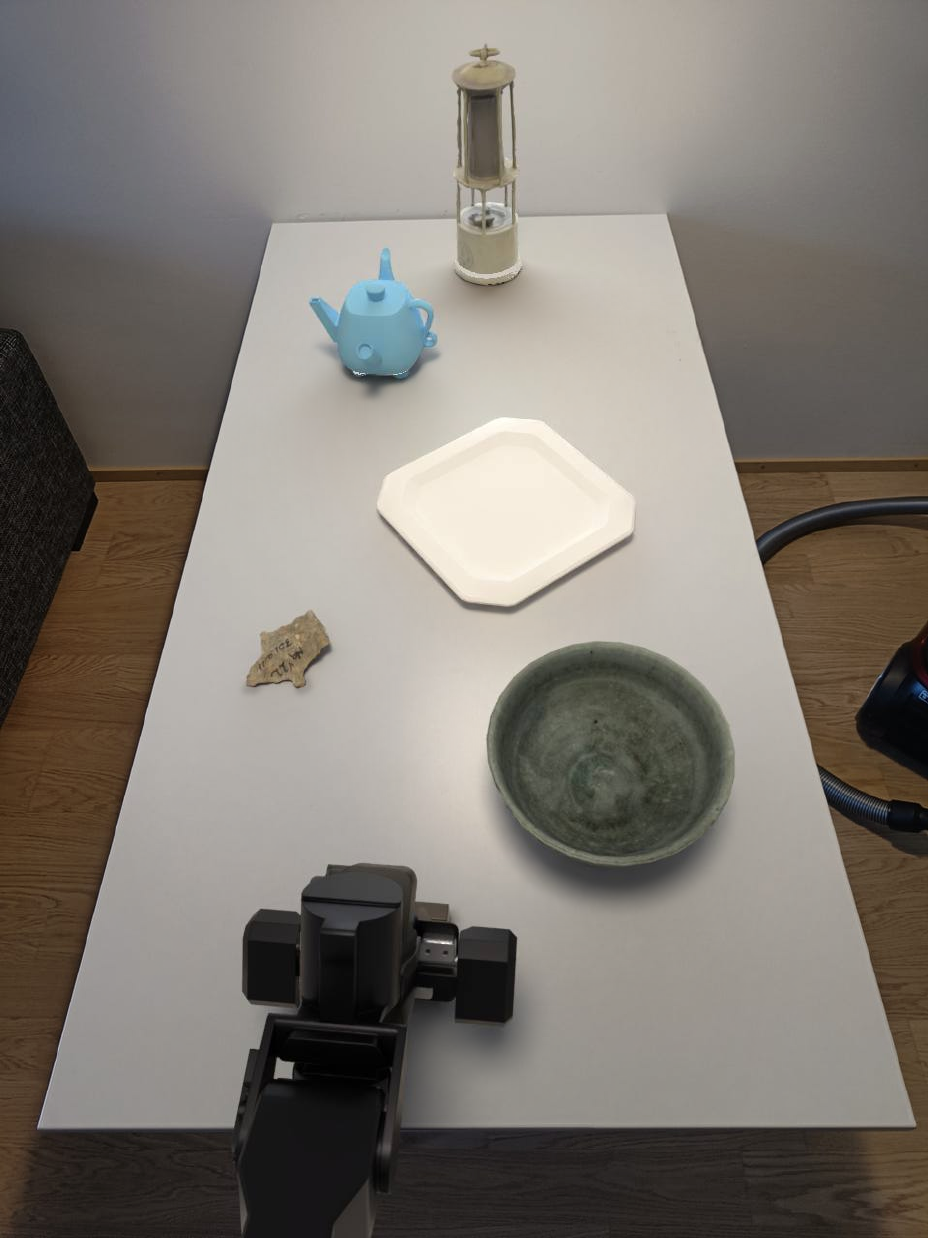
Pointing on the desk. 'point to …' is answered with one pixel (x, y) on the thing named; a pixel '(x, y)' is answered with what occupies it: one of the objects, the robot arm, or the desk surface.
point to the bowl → (611, 753)
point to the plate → (506, 510)
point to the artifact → (289, 651)
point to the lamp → (485, 170)
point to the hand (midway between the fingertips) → (398, 911)
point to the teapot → (378, 325)
